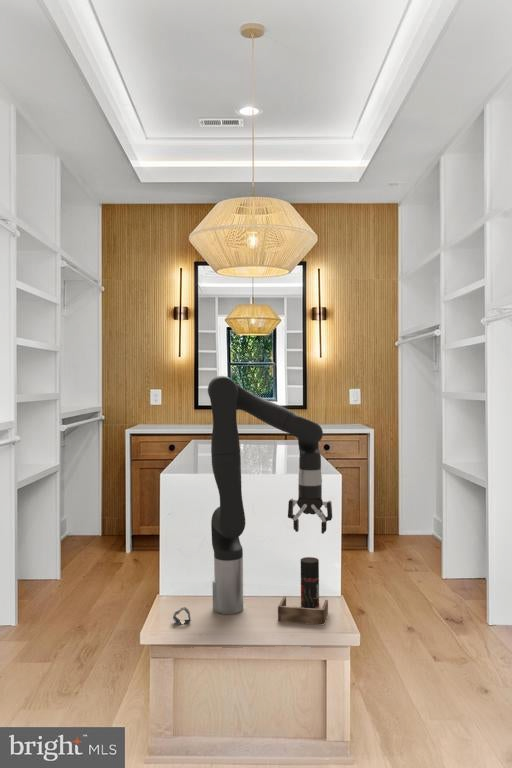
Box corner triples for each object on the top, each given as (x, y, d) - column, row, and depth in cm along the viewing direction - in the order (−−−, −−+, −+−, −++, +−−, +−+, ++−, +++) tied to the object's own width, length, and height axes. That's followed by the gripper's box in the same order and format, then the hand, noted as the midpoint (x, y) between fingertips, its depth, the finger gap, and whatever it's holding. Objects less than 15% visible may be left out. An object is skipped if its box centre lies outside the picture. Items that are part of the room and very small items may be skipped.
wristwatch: (182, 625, 204) (171, 615, 203) (194, 614, 204) (183, 603, 203) (182, 630, 201) (170, 620, 200) (194, 619, 201) (183, 608, 200)
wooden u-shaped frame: (278, 620, 203) (278, 606, 203) (283, 610, 212) (283, 596, 211) (324, 625, 200) (323, 610, 199) (327, 613, 208) (327, 599, 208)
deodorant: (318, 609, 212) (317, 563, 211) (299, 608, 213) (299, 562, 213) (320, 602, 218) (319, 557, 217) (302, 601, 219) (301, 556, 218)
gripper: (286, 483, 212) (286, 533, 213) (330, 485, 209) (330, 536, 209) (290, 479, 219) (290, 527, 220) (333, 481, 216) (333, 530, 216)
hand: (310, 532), depth 215 cm, fingers open, 8 cm apart
